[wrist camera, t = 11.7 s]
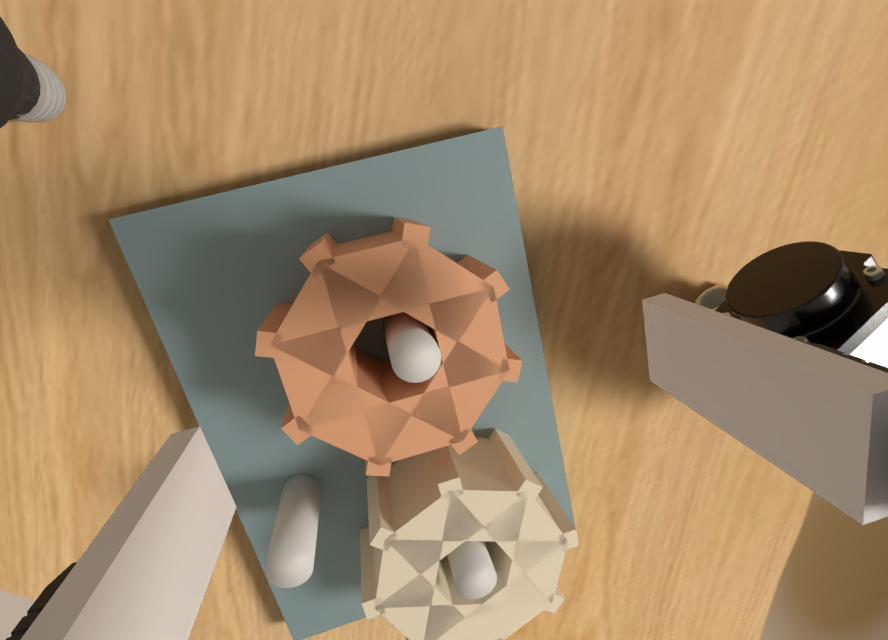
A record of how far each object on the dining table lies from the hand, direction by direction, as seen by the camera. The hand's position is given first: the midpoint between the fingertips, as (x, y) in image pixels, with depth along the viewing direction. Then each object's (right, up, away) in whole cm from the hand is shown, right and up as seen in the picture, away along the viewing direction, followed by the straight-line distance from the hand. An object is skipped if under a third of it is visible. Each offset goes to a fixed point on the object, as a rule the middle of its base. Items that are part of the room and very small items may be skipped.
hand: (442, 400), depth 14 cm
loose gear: (-3, +2, +10) cm, 11 cm away
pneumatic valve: (+17, +3, +15) cm, 23 cm away
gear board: (-3, -2, +13) cm, 13 cm away
